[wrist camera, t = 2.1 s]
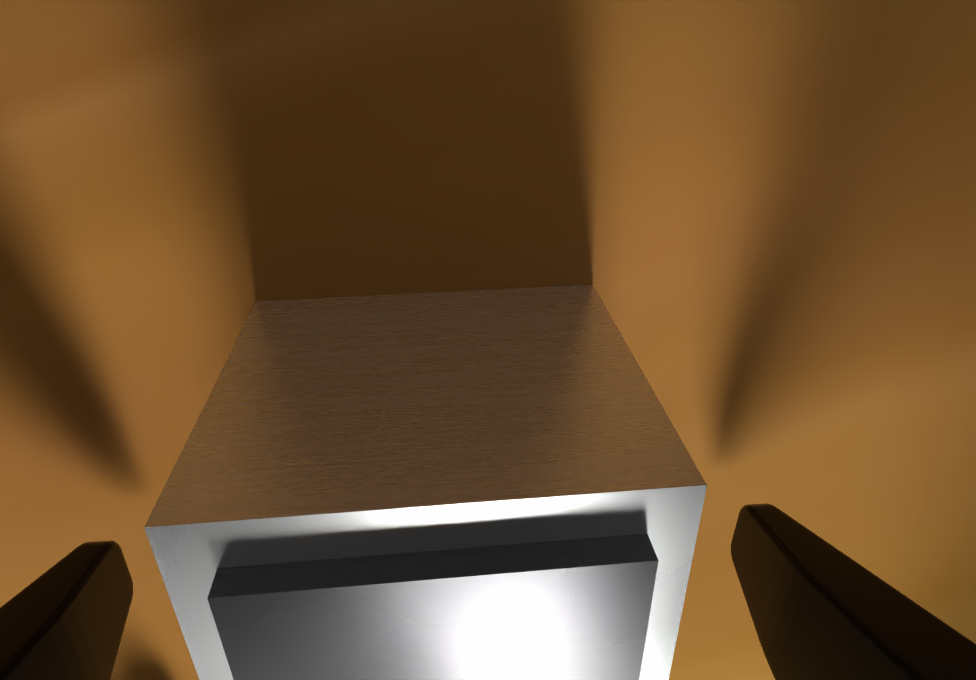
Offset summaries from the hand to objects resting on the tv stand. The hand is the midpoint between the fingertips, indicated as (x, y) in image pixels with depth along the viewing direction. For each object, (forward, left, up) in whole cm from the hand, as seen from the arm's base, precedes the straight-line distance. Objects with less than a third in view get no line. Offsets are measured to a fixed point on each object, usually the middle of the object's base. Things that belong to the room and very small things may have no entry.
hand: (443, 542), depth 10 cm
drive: (0, 0, -1) cm, 1 cm away
